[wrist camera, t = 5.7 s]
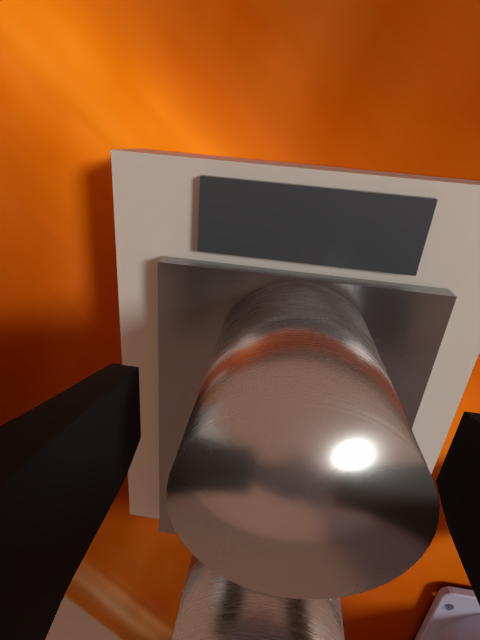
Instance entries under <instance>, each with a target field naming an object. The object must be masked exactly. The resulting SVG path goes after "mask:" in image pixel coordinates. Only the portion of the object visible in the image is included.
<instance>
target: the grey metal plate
mask: <svg viewBox="0 0 480 640" xmlns="http://www.w3.org/2000/svg"><path fill="white" fill-rule="evenodd" d="M290 281H295V282H308V283H313V284H317V285H321V286H324V287H326V288H329V289H331V290H333V291H335V292H337V293H338V294H340V295H342V296H343V297H344V298H345V299H347V300H348V301H349V302H350V303H351V304H352V305H353V306H354V307H355V308H356V309H357V310H358V312H359V313H360V314H361V316H362V317H363V319H364V321H365V323H366V325H367V327H368V330H369V332H370V334H371V337H372V339H373V341H374V344H375V346H376V348H377V351H378V353H379V355H380V358H381V360H382V362H383V365H384V367H385V369H386V371H387V374H388V376H389V378H390V381H391V383H392V385H393V388H394V390H395V392H396V395H397V397H398V399H399V402H400V404H401V406H402V409H403V411H404V413H405V416H406V418H407V420H408V422H409V425H410V427H411V429H412V427H413V424H414V421H415V418H416V415H417V412H418V409H419V406H420V403H421V401H422V398H423V395H424V392H425V389H426V386H427V383H428V380H429V377H430V374H431V371H432V368H433V365H434V363H435V360H436V357H437V354H438V351H439V348H440V345H441V342H442V339H443V336H444V333H445V330H446V328H447V325H448V322H449V319H450V316H451V313H452V310H453V307H454V304H455V301H456V298H457V296H456V295H455V294H453V293H452V292H451V291H450V290H449V289H445V288H436V287H427V286H419V285H410V284H401V283H392V282H384V281H375V280H366V279H358V278H349V277H340V276H332V275H323V274H314V273H306V272H297V271H288V270H280V269H271V268H262V267H254V266H245V265H236V264H228V263H219V262H210V261H202V260H193V259H184V258H175V257H167V256H164V257H163V258H161V259H160V260H159V261H158V392H159V531H160V532H166V533H172V534H177V533H176V531H175V529H174V527H173V525H172V523H171V520H170V516H169V513H168V509H167V501H166V491H167V483H168V479H169V474H170V471H171V469H172V466H173V463H174V460H175V457H176V455H177V452H178V449H179V446H180V444H181V441H182V438H183V435H184V432H185V430H186V427H187V424H188V421H189V419H190V416H191V413H192V410H193V407H194V405H195V402H196V399H197V396H198V394H199V391H200V388H201V385H202V382H203V380H204V377H205V374H206V371H207V368H208V366H209V363H210V360H211V357H212V355H213V352H214V349H215V346H216V343H217V341H218V338H219V335H220V332H221V330H222V327H223V325H224V322H225V320H226V319H227V317H228V315H229V314H230V312H231V311H232V310H233V308H234V307H235V306H236V305H237V304H238V303H239V302H240V301H241V300H242V299H244V298H245V297H246V296H248V295H249V294H251V293H253V292H254V291H256V290H258V289H260V288H263V287H266V286H268V285H272V284H276V283H281V282H290Z"/></svg>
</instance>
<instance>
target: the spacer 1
mask: <svg viewBox="0 0 480 640" xmlns="http://www.w3.org/2000/svg"><path fill="white" fill-rule="evenodd" d="M166 501H167V509H168V513H169V516H170V520H171V523H172V525H173V527H174V529H175V531H176V533H177V535H178V536H179V538H180V539H181V541H182V542H183V544H184V545H185V546H186V547H187V548H188V549H189V551H190V552H191V553H192V554H193V555H194V556H195V557H196V558H197V559H198V560H200V561H201V562H202V563H203V564H204V565H206V566H207V567H208V568H210V569H211V570H213V571H214V572H216V573H217V574H219V575H221V576H222V577H224V578H226V579H228V580H230V581H232V582H234V583H236V584H238V585H241V586H243V587H246V588H249V589H251V590H254V591H258V592H261V593H265V594H269V595H274V596H279V597H285V598H294V599H314V600H316V599H332V598H339V597H346V596H350V595H355V594H359V593H363V592H366V591H369V590H372V589H375V588H377V587H379V586H381V585H384V584H386V583H388V582H390V581H391V580H393V579H395V578H396V577H398V576H400V575H401V574H403V573H404V572H405V571H407V570H408V569H409V568H410V567H412V566H413V565H414V564H415V563H416V562H417V561H418V560H419V559H420V558H421V557H422V555H423V554H424V552H425V551H426V550H427V548H428V547H429V545H430V543H431V541H432V539H433V537H434V535H435V532H436V529H437V525H438V521H439V509H440V507H439V499H438V493H437V490H436V487H435V483H434V480H433V478H432V476H431V473H430V471H429V469H428V466H427V464H426V462H425V460H424V457H423V455H422V453H421V450H420V448H419V446H418V443H417V441H416V439H415V436H414V434H413V432H412V429H411V427H410V425H409V422H408V420H407V418H406V416H405V413H404V411H403V409H402V406H401V404H400V402H399V399H398V397H397V395H396V392H395V390H394V388H393V385H392V383H391V381H390V378H389V376H388V374H387V371H386V369H385V367H384V365H383V362H382V360H381V358H380V355H379V353H378V351H377V348H376V346H375V344H374V341H373V339H372V337H371V334H370V332H369V330H368V327H367V325H366V323H365V321H364V319H363V317H362V316H361V314H360V313H359V312H358V310H357V309H356V308H355V307H354V306H353V305H352V304H351V303H350V302H349V301H348V300H347V299H345V298H344V297H343V296H342V295H340V294H338V293H337V292H335V291H333V290H331V289H329V288H326V287H324V286H321V285H317V284H313V283H308V282H295V281H290V282H281V283H276V284H272V285H268V286H266V287H263V288H260V289H258V290H256V291H254V292H253V293H251V294H249V295H248V296H246V297H245V298H244V299H242V300H241V301H240V302H239V303H238V304H237V305H236V306H235V307H234V308H233V310H232V311H231V312H230V314H229V315H228V317H227V319H226V320H225V322H224V325H223V327H222V330H221V332H220V335H219V338H218V341H217V343H216V346H215V349H214V352H213V355H212V357H211V360H210V363H209V366H208V368H207V371H206V374H205V377H204V380H203V382H202V385H201V388H200V391H199V394H198V396H197V399H196V402H195V405H194V407H193V410H192V413H191V416H190V419H189V421H188V424H187V427H186V430H185V432H184V435H183V438H182V441H181V444H180V446H179V449H178V452H177V455H176V457H175V460H174V463H173V466H172V469H171V471H170V474H169V479H168V483H167V491H166Z"/></svg>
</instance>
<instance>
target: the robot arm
mask: <svg viewBox="0 0 480 640" xmlns="http://www.w3.org/2000/svg"><path fill="white" fill-rule="evenodd" d="M140 438H141V421H140V389H139V367H135V366H127V365H120V364H111V365H109V366H107V367H105V368H103V369H102V370H100V371H98V372H96V373H94V374H93V375H91V376H89V377H88V378H86V379H84V380H82V381H81V382H79V383H77V384H76V385H74V386H72V387H70V388H69V389H67V390H65V391H63V392H62V393H60V394H58V395H56V396H55V397H53V398H51V399H49V400H48V401H46V402H44V403H42V404H41V405H39V406H37V407H35V408H34V409H32V410H30V411H28V412H26V413H24V414H22V415H20V416H18V417H17V418H15V419H13V420H11V421H9V422H7V423H5V424H3V425H1V426H0V640H45V638H46V636H47V634H48V631H49V629H50V627H51V624H52V622H53V620H54V617H55V615H56V613H57V610H58V608H59V605H60V603H61V601H62V599H63V597H64V595H65V593H66V591H67V589H68V587H69V585H70V582H71V580H72V578H73V576H74V574H75V572H76V571H77V569H78V567H79V565H80V563H81V561H82V559H83V557H84V556H85V554H86V552H87V550H88V548H89V546H90V544H91V542H92V541H93V539H94V537H95V535H96V533H97V531H98V529H99V527H100V525H101V524H102V522H103V520H104V518H105V516H106V514H107V512H108V510H109V509H110V507H111V505H112V503H113V501H114V499H115V497H116V495H117V493H118V491H119V489H120V487H121V486H122V484H123V482H124V480H125V478H126V475H127V473H128V470H129V468H130V465H131V463H132V460H133V457H134V455H135V452H136V449H137V447H138V444H139V441H140ZM436 483H437V487H438V491H439V495H440V499H441V503H442V507H443V511H444V514H445V518H446V522H447V525H448V528H449V531H450V534H451V536H452V539H453V541H454V544H455V546H456V549H457V552H458V554H459V557H460V559H461V562H462V564H463V567H464V569H465V571H466V574H467V576H468V579H469V581H470V584H471V586H472V589H473V590H469V589H463V588H457V587H451V586H446V587H443V588H441V589H440V590H439V591H438V593H437V595H436V597H435V599H434V601H433V603H432V605H431V607H430V609H429V611H428V613H427V615H426V617H425V619H424V622H423V624H422V626H421V628H420V630H419V632H418V634H417V636H416V638H415V640H480V414H479V413H471V412H464V414H463V416H462V419H461V421H460V424H459V426H458V428H457V431H456V433H455V436H454V438H453V441H452V443H451V446H450V448H449V451H448V453H447V456H446V458H445V461H444V463H443V466H442V468H441V470H440V473H439V475H438V478H437V480H436Z"/></svg>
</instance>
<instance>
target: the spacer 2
mask: <svg viewBox="0 0 480 640" xmlns="http://www.w3.org/2000/svg"><path fill="white" fill-rule="evenodd" d="M172 640H345V637H344V627H343V618H342V609H341V600H340V597H339V598H332V599H316V600H314V599H294V598H285V597H279V596H274V595H269V594H265V593H261V592H258V591H254V590H251V589H249V588H246V587H243V586H241V585H238V584H236V583H234V582H232V581H230V580H228V579H226V578H224V577H222V576H221V575H219V574H217V573H216V572H214V571H213V570H211V569H210V568H208V567H207V566H206V565H204V564H203V563H202V562H201V561H200V560H198V559H197V558H196V557H195V556H194V555H193V554H192V557H191V562H190V566H189V570H188V574H187V578H186V582H185V587H184V591H183V595H182V599H181V603H180V607H179V612H178V616H177V620H176V624H175V628H174V633H173V637H172Z"/></svg>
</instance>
